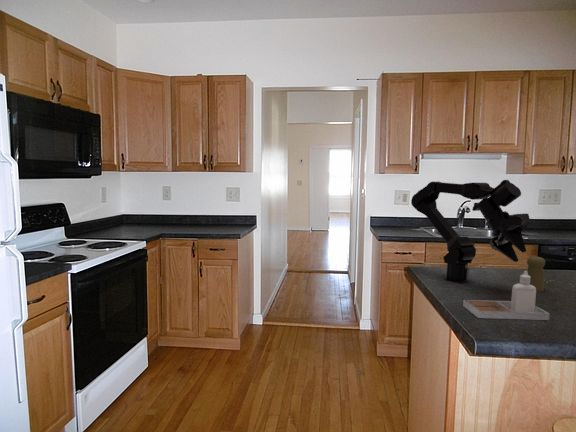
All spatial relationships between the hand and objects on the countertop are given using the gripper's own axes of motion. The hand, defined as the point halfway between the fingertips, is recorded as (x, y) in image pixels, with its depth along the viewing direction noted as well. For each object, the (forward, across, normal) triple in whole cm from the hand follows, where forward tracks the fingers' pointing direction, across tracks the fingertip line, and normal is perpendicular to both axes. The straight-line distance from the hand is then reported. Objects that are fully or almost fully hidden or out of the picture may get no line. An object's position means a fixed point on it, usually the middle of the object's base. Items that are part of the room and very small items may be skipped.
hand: (520, 256), depth 120 cm
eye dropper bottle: (+16, -6, +10) cm, 20 cm away
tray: (+14, -7, +15) cm, 22 cm away
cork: (+8, +19, -5) cm, 21 cm away
